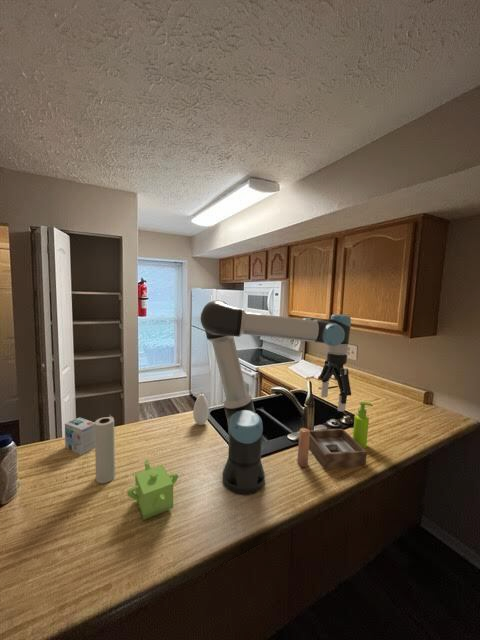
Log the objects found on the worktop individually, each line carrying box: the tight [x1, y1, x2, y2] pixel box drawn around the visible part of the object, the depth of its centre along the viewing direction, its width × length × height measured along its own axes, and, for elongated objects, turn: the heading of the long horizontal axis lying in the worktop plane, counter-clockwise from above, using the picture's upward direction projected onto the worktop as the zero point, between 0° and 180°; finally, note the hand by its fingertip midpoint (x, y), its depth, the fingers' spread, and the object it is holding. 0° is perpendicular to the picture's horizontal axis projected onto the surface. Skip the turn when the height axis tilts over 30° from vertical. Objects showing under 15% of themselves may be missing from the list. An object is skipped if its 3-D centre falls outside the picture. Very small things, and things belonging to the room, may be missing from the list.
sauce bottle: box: [192, 389, 210, 426], centre depth 136 cm, size 8×8×18 cm
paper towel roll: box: [94, 415, 116, 484], centre depth 95 cm, size 7×6×21 cm
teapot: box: [127, 459, 179, 521], centre depth 84 cm, size 15×13×11 cm
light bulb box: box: [64, 416, 95, 456], centre depth 113 cm, size 11×7×11 cm, turn 65°
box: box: [309, 428, 368, 470], centre depth 115 cm, size 18×18×6 cm
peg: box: [297, 427, 310, 468], centre depth 107 cm, size 4×4×14 cm
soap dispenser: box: [352, 401, 374, 449], centre depth 122 cm, size 6×7×20 cm
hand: (332, 403), depth 112 cm, fingers open, 13 cm apart
